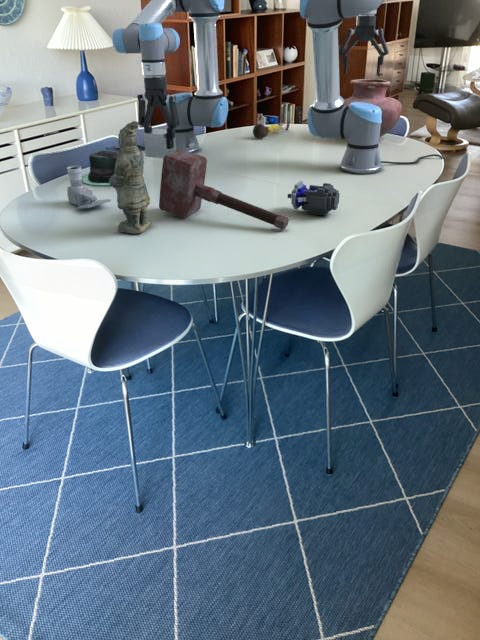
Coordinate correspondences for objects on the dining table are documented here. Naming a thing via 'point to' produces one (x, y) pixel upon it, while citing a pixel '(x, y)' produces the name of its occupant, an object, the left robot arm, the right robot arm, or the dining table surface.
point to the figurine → (267, 129)
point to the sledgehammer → (200, 190)
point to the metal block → (157, 143)
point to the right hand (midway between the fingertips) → (361, 73)
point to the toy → (315, 198)
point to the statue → (131, 182)
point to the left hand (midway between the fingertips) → (160, 147)
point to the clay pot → (377, 101)
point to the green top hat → (101, 168)
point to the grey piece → (80, 190)
